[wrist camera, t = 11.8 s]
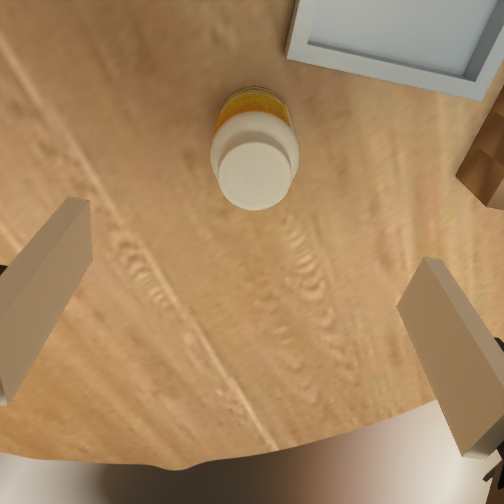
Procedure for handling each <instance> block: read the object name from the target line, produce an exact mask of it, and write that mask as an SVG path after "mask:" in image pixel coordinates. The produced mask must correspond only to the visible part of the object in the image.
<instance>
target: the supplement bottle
mask: <svg viewBox="0 0 504 504" xmlns="http://www.w3.org/2000/svg"><path fill="white" fill-rule="evenodd" d="M299 161H300V151H299V145H298V141H297V137H296V133H295V130H294V126H293V121H292V117H291V114H290V111H289V109H288V107H287V105H286V104H285V102H284V101H283V100H282V99H281V98H280V97H279V96H278V95H277V94H275V93H274V92H272V91H269V90H267V89H264V88H259V87H249V88H245V89H242V90H239V91H237V92H236V93H234V94H233V95H231V96H230V97H229V98H228V99H227V100H226V102H225V103H224V105H223V107H222V109H221V111H220V114H219V118H218V121H217V125H216V129H215V133H214V137H213V140H212V143H211V150H210V162H211V167H212V170H213V172H214V175H215V177H216V178H217V180H218V183H219V187H220V189H221V191H222V193H223V195H224V196H225V197H226V198H227V199H228V200H229V201H230V202H231V203H232V204H234V205H235V206H237V207H240V208H242V209H245V210H253V211H256V210H263V209H267V208H270V207H272V206H274V205H275V204H277V203H278V202H280V201H281V200H282V199H283V198H284V196H285V195H286V194H287V192H288V190H289V188H290V184H291V181H292V180H293V178H294V176H295V174H296V172H297V169H298V166H299Z"/></svg>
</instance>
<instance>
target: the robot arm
mask: <svg viewBox="0 0 504 504" xmlns="http://www.w3.org/2000/svg"><path fill="white" fill-rule="evenodd" d="M91 261H92V241H91V220H90V200H86V199H80V198H74V197H67V198H66V199H65V201H64V202H63V203H62V204H61V205H60V206H59V208H58V209H57V210H56V211H55V212H54V213H53V215H52V216H51V217H50V218H49V219H48V220H47V222H46V223H45V224H44V225H43V226H42V228H41V229H40V230H39V231H38V232H37V233H36V235H35V236H34V237H33V238H32V239H31V240H30V242H29V243H28V244H27V245H26V246H25V247H24V249H23V250H22V251H21V252H20V253H19V254H18V256H17V257H16V258H15V259H14V260H13V261H12V263H11V264H10V265H9V266H5V265H0V405H2V406H9V404H10V402H11V401H12V399H13V397H14V395H15V394H16V392H17V390H18V388H19V387H20V385H21V383H22V381H23V380H24V378H25V376H26V374H27V373H28V371H29V369H30V368H31V366H32V364H33V362H34V361H35V359H36V357H37V355H38V354H39V352H40V350H41V348H42V347H43V345H44V343H45V341H46V340H47V338H48V336H49V334H50V333H51V331H52V329H53V327H54V326H55V324H56V322H57V320H58V319H59V317H60V315H61V314H62V312H63V310H64V308H65V307H66V305H67V303H68V301H69V300H70V298H71V296H72V294H73V293H74V291H75V289H76V287H77V286H78V284H79V282H80V280H81V279H82V277H83V275H84V273H85V272H86V270H87V268H88V267H89V265H90V263H91ZM396 307H397V309H398V311H399V313H400V316H401V318H402V320H403V323H404V325H405V327H406V329H407V332H408V334H409V336H410V339H411V341H412V343H413V346H414V348H415V350H416V352H417V355H418V357H419V359H420V362H421V364H422V366H423V368H424V371H425V373H426V375H427V378H428V380H429V382H430V384H431V387H432V389H433V391H434V394H435V396H436V398H437V400H438V402H439V405H440V407H441V410H442V412H443V414H444V416H445V419H446V421H447V423H448V426H449V427H450V430H451V432H452V435H453V437H454V439H455V441H456V444H457V446H458V448H459V451H460V453H461V455H462V457H468V458H478V459H486V458H487V457H488V456H489V455H490V454H491V453H493V452H494V451H495V450H496V449H497V450H498V452H499V454H500V456H501V458H502V460H501V461H500V462H499V463H498V464H497V465H496V466H495V467H494V468H493V469H492V470H491V471H489V473H487V474H486V475H485V477H484V478H483V480H484V481H486V482H487V481H488V480H489V479H490V478H493V480H492V483H491V487H490V490H489V494H488V497H487V501H486V504H504V342H502V341H501V340H500V339H499V338H495V337H493V336H492V334H491V333H490V331H489V330H488V328H487V327H486V325H485V324H484V322H483V321H482V319H481V318H480V316H479V315H478V313H477V312H476V310H475V309H474V308H473V306H472V305H471V303H470V302H469V300H468V299H467V297H466V296H465V294H464V293H463V291H462V290H461V288H460V287H459V285H458V284H457V282H456V281H455V279H454V278H453V276H452V275H451V273H450V272H449V270H448V269H447V267H446V266H445V264H444V263H443V261H442V260H440V259H434V258H428V257H423V259H422V261H421V263H420V265H419V267H418V268H417V270H416V272H415V274H414V276H413V277H412V279H411V281H410V283H409V285H408V286H407V288H406V290H405V292H404V294H403V295H402V297H401V299H400V301H399V303H398V305H397V306H396Z"/></svg>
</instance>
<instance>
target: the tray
mask: <svg viewBox="0 0 504 504" xmlns="http://www.w3.org/2000/svg"><path fill="white" fill-rule="evenodd" d="M284 53H285V56H286V58H287V59H290V60H294V61H299V62H303V63H308V64H312V65H317V66H322V67H326V68H331V69H335V70H340V71H344V72H349V73H354V74H358V75H363V76H367V77H372V78H376V79H381V80H386V81H390V82H395V83H399V84H404V85H408V86H413V87H417V88H422V89H427V90H431V91H436V92H440V93H445V94H449V95H454V96H459V97H463V98H468V99H472V100H477V101H482V99H483V98H484V96H485V94H486V92H487V90H488V88H489V86H490V84H491V82H492V80H493V78H494V76H495V74H496V72H497V71H498V69H499V67H500V65H501V63H502V61H503V59H504V0H295V5H294V9H293V14H292V18H291V23H290V28H289V32H288V37H287V41H286V46H285V50H284Z"/></svg>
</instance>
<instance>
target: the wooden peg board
mask: <svg viewBox="0 0 504 504" xmlns="http://www.w3.org/2000/svg"><path fill="white" fill-rule="evenodd" d="M456 177H457V178H458V179H459V180H460V181H461V182H462V183H463V184H464V185H465V186H466V187H467V188H468V189H469V190H470V191H471V192H472V193H473V194H474V195H475V196H476V197H477V198H478V199H479V200H480V201H481V202H482V203H483V204H484V205H485V206H486V207H490V208H495V209H500V210H504V87H503V89H502V91H501V93H500V94H499V96H498V98H497V100H496V102H495V104H494V106H493V107H492V109H491V111H490V113H489V115H488V117H487V119H486V120H485V122H484V124H483V126H482V128H481V130H480V132H479V133H478V135H477V137H476V139H475V141H474V143H473V145H472V146H471V148H470V150H469V152H468V154H467V156H466V158H465V159H464V161H463V163H462V165H461V167H460V169H459V171H458V172H457V174H456Z"/></svg>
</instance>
